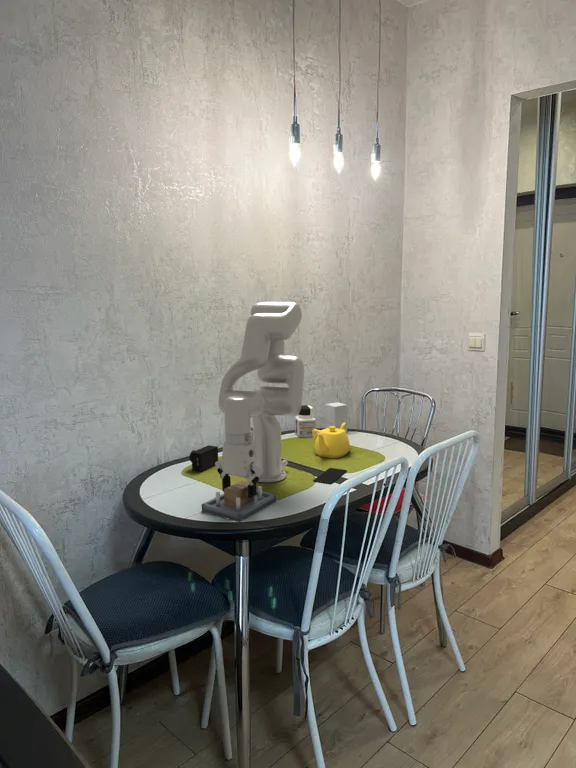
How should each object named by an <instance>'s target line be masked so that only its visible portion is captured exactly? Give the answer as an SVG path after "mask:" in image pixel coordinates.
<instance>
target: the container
mask: <svg viewBox="0 0 576 768" xmlns="http://www.w3.org/2000/svg"><path fill="white" fill-rule="evenodd" d="M294 417H295V418H294V425H295V426H294V428H295V429H294V431H295V432H294V433H295V434H296V435H297V436H298V437H299V438H309V437H313V434H312V430H313V429H317V420H316V418H315V417H314V408H313V406H311V405H309V404H308V405H307V404H304V405H301V410H300V412H299V414H298V415H296V416H294Z"/></svg>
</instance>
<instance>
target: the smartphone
mask: <svg viewBox="0 0 576 768" xmlns="http://www.w3.org/2000/svg"><path fill="white" fill-rule="evenodd" d="M347 472H348V471H347V469H342V468H333V467H329V468H328V469H326V470H325V471H323V472H322V473H321V474H319V475H318V476H317V477H316V478H314V479H313V480H312V481H313V482H314V483H318V484H319V483H320V484H323V485H333V484H334V483H335V482H337V481H338V480H339V479H340V478H342V477H343V476H344V475H345V474H346V473H347Z"/></svg>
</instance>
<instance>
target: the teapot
mask: <svg viewBox="0 0 576 768" xmlns="http://www.w3.org/2000/svg"><path fill="white" fill-rule="evenodd" d="M345 424H346V423H345V422H344V423H342V425H341V427H340V429H337V428H336V427H335V426H330V427H329V428H326V427H325V428H323V429H321V430H320V429H317V428H316V429H313V430H312V434H313V436H312V437H313V438H314V439H313V440H315V442H314V453H315V454H316V455H317V456H319V457H324V458H328V459H329V458H330V459H338V458H342V457H344V456H346V455H347V454H348V453H349V451H350V448H351V447H350V446H351V445H350V439H349V436H348V434H347V432H346V431H345Z"/></svg>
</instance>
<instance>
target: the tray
mask: <svg viewBox="0 0 576 768" xmlns="http://www.w3.org/2000/svg"><path fill="white" fill-rule="evenodd" d="M276 500H277V497H276V494H275V493H271V492H270V493H269V492H267V491H263V486H262V485H259V486H257V489H256V495H255V496H254V500H253V501H251V502H249V503H247V504H245V505H243V506H241V507H240V497H237V498H236V508H234V507H230V506H227V505H224V493H222V494H221V492H220V491H217V492H215V497H214V498H212V499H209V500H208V501H206V502H203V503H202V504H201V512H204V513H206V514H209V515H214V516H216V517H220V518H223V519H228V520H231V521H235V522H238V523H240V522H242V521H245V519H247V518H249V517H251V516H252V515H254V514H256V513H258V512H260V511H261V510H263V509H264V508H267V507H268V506H270V505H272V504H274V503H275V502H276Z"/></svg>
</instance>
